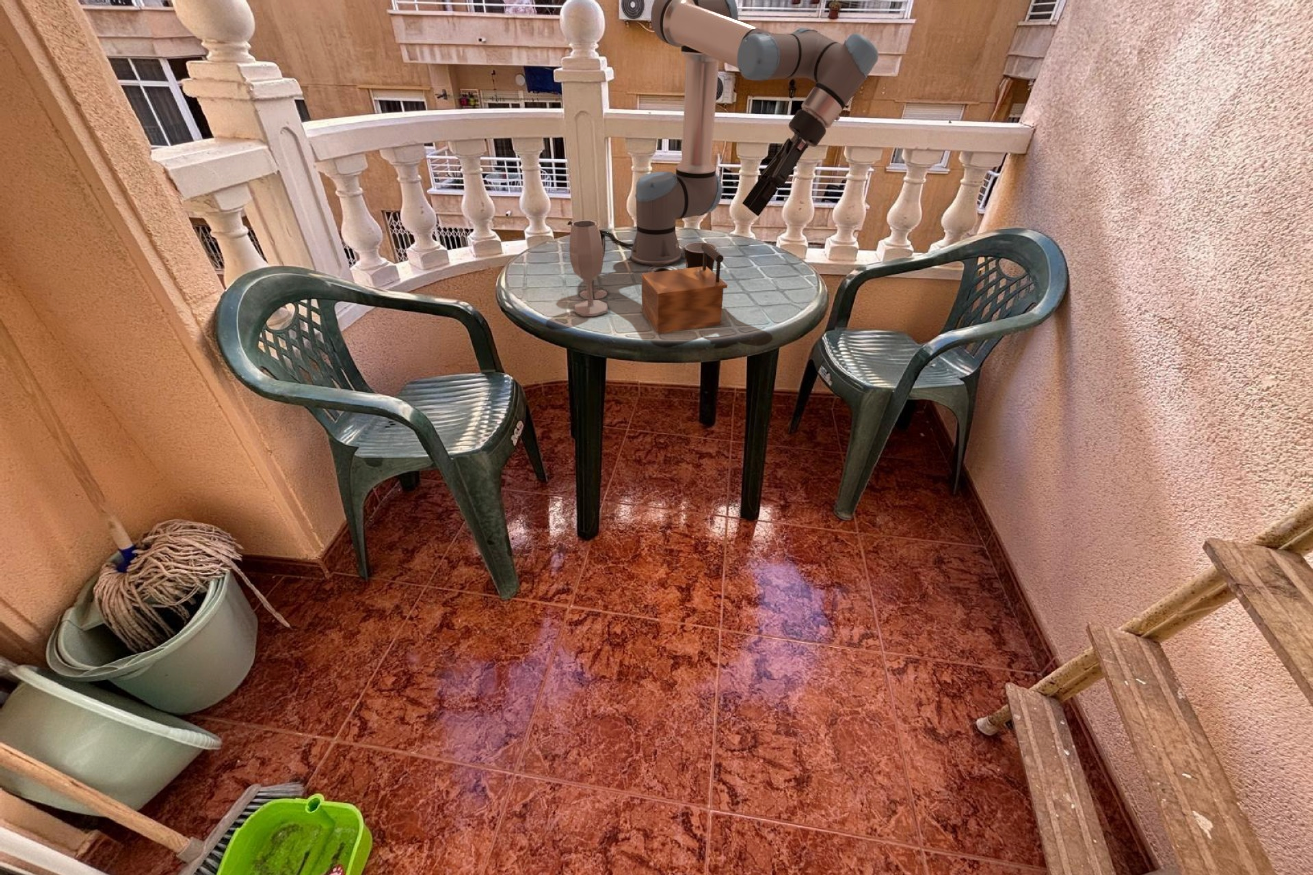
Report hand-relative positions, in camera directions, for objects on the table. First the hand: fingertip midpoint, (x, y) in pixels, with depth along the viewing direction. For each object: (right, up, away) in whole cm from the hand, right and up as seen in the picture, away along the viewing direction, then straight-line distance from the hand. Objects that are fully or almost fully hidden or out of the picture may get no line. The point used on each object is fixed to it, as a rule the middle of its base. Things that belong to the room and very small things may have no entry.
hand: (749, 209), depth 120 cm
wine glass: (-38, -13, +22) cm, 46 cm away
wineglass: (-38, -20, +14) cm, 44 cm away
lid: (-15, -15, +4) cm, 22 cm away
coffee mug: (-9, -8, +29) cm, 31 cm away
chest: (-15, -22, +10) cm, 29 cm away
